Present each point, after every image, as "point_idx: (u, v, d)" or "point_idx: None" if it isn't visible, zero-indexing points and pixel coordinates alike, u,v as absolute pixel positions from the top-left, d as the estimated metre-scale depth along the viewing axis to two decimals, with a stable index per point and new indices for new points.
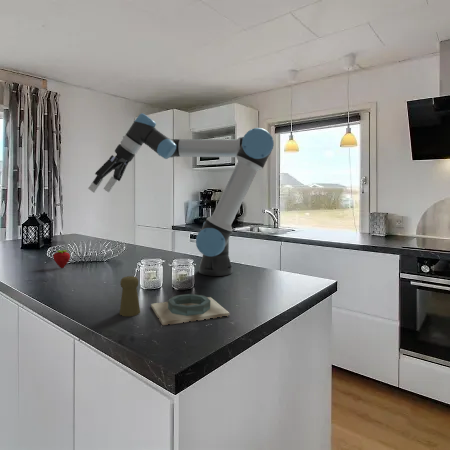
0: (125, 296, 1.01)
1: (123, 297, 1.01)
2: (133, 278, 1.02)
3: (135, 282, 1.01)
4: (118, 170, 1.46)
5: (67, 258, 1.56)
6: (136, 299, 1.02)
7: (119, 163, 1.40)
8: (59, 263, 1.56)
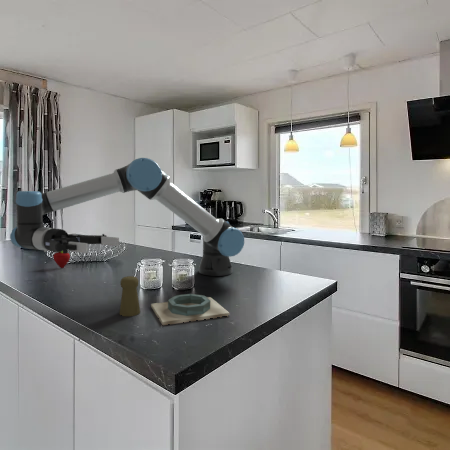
0: (125, 296, 1.01)
1: (123, 297, 1.01)
2: (133, 278, 1.02)
3: (135, 282, 1.01)
4: (84, 238, 1.12)
5: (67, 258, 1.56)
6: (136, 299, 1.02)
7: (61, 237, 1.08)
8: (59, 263, 1.56)
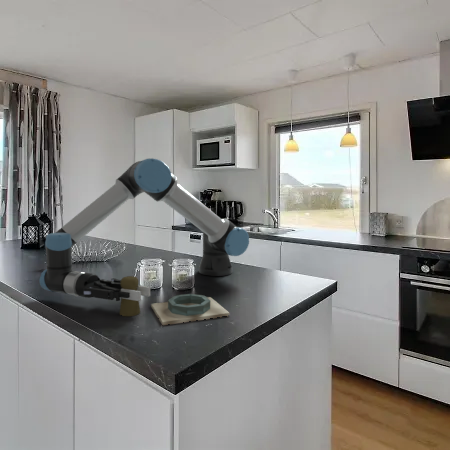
0: None
1: None
2: (133, 278, 1.02)
3: (135, 282, 1.01)
4: (114, 285, 1.07)
5: None
6: None
7: (95, 284, 1.05)
8: None
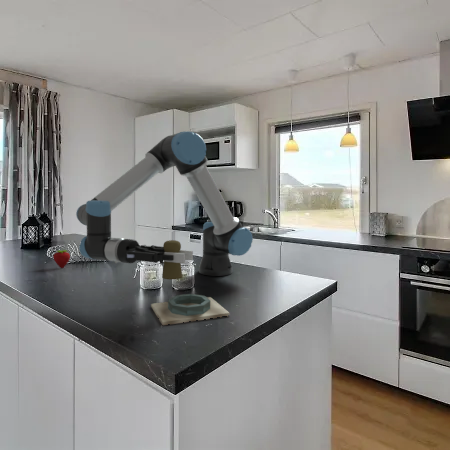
0: None
1: None
2: (176, 241, 1.01)
3: (178, 245, 1.01)
4: (155, 250, 1.07)
5: (67, 258, 1.56)
6: (179, 263, 1.02)
7: (137, 248, 1.05)
8: (59, 263, 1.56)
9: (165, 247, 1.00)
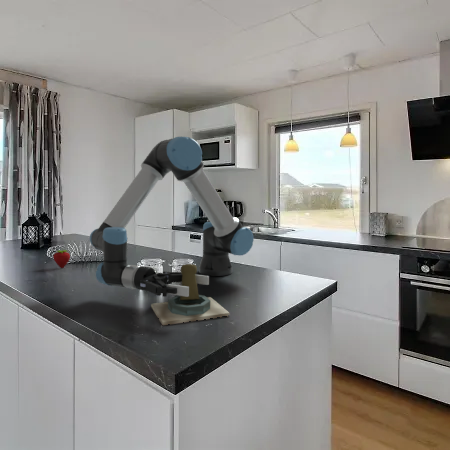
0: (185, 280, 1.06)
1: (184, 282, 1.07)
2: (192, 264, 1.09)
3: (194, 267, 1.08)
4: (173, 277, 1.11)
5: (67, 258, 1.56)
6: (195, 284, 1.07)
7: (153, 277, 1.07)
8: (59, 263, 1.56)
9: (182, 269, 1.08)
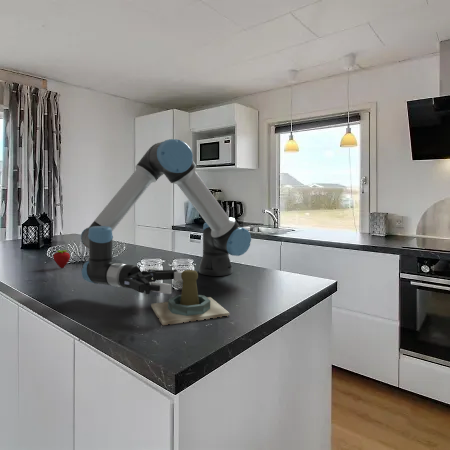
0: (186, 288, 1.05)
1: (184, 289, 1.05)
2: (193, 271, 1.06)
3: (195, 274, 1.06)
4: (157, 274, 1.13)
5: (67, 258, 1.56)
6: (196, 291, 1.06)
7: (137, 275, 1.09)
8: (59, 263, 1.56)
9: (183, 276, 1.05)
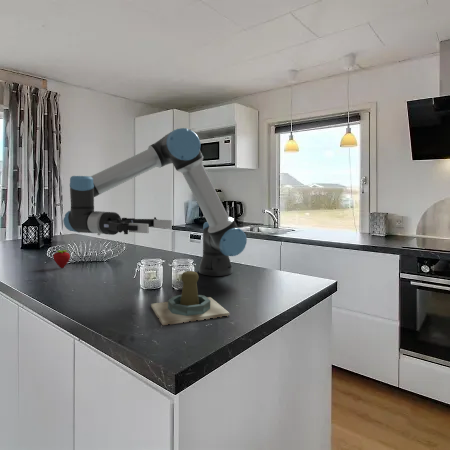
0: (186, 290, 1.04)
1: (184, 291, 1.05)
2: (194, 273, 1.05)
3: (196, 277, 1.05)
4: (137, 221, 1.15)
5: (67, 258, 1.56)
6: (196, 293, 1.06)
7: (117, 220, 1.11)
8: (59, 263, 1.56)
9: (183, 278, 1.04)
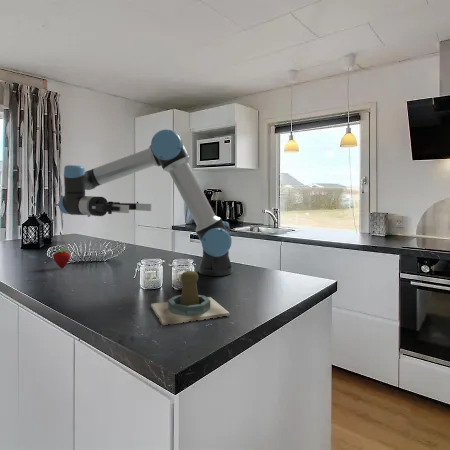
0: (186, 290, 1.04)
1: (184, 291, 1.05)
2: (194, 273, 1.05)
3: (196, 277, 1.05)
4: (122, 205, 1.33)
5: (67, 258, 1.56)
6: (196, 293, 1.06)
7: (103, 203, 1.29)
8: (59, 263, 1.56)
9: (183, 278, 1.04)
